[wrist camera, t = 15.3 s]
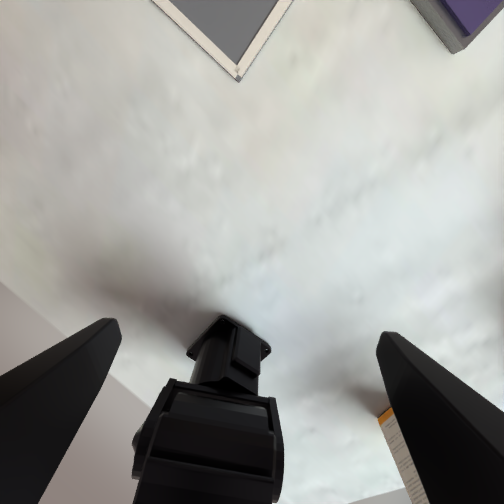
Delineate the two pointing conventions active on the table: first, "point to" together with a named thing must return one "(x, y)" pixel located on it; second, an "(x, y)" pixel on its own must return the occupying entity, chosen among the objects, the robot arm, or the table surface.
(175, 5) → the stamp mat
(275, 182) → the table surface
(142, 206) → the table surface
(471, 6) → the ink pad
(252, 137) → the table surface
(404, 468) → the supplement box
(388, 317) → the table surface
